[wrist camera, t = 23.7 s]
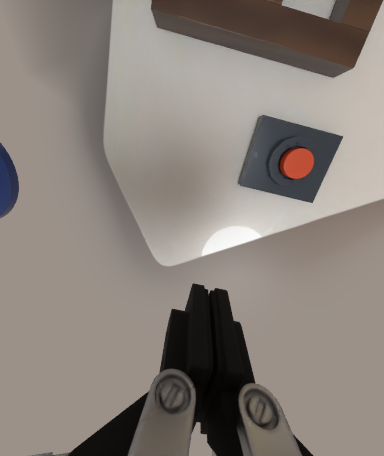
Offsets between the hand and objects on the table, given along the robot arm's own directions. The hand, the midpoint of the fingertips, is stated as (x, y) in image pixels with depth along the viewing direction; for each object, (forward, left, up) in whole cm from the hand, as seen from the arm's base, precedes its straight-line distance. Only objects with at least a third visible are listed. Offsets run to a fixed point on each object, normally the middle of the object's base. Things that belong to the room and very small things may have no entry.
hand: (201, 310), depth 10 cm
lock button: (+12, +8, -23) cm, 28 cm away
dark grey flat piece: (+12, +8, -27) cm, 31 cm away
